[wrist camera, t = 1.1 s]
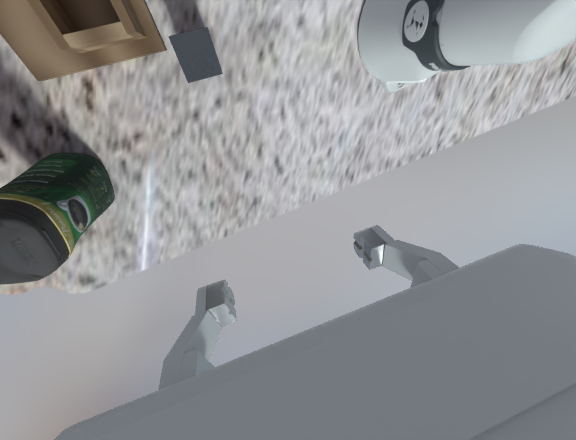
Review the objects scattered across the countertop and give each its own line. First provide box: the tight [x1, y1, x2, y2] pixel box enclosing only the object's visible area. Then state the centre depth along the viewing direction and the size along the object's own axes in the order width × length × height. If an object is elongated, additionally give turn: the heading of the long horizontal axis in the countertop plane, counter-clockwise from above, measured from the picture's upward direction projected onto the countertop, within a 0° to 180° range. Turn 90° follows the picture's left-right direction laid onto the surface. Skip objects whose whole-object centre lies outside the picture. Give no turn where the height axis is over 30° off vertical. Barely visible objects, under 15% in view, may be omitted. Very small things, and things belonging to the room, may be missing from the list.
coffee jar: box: [0, 153, 115, 284], centre depth 27 cm, size 10×8×19 cm
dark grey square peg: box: [169, 27, 223, 83], centre depth 26 cm, size 4×4×10 cm
